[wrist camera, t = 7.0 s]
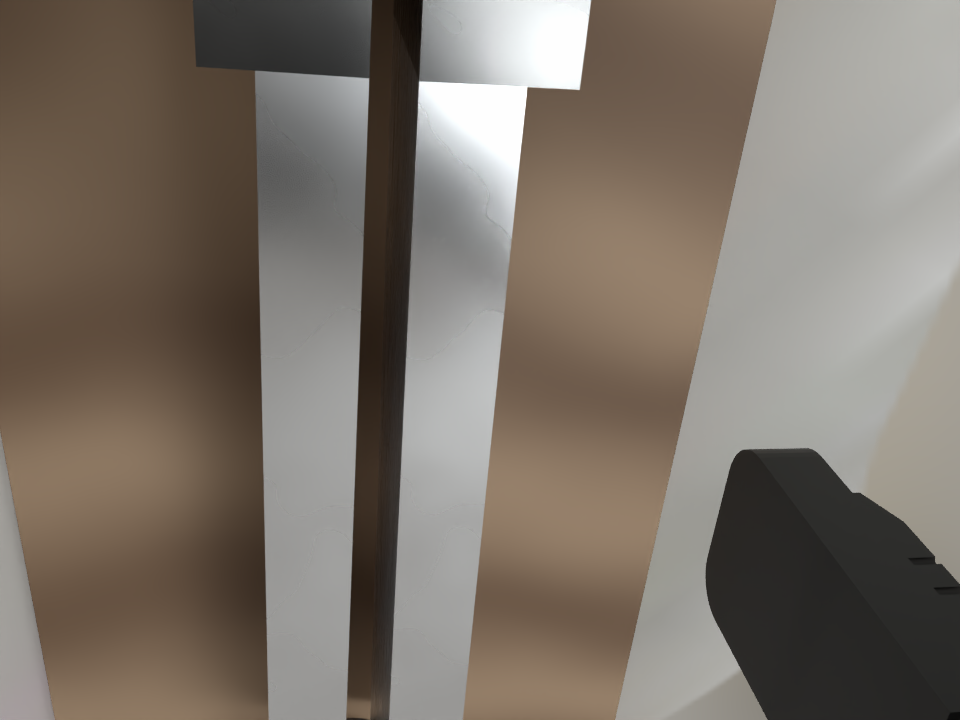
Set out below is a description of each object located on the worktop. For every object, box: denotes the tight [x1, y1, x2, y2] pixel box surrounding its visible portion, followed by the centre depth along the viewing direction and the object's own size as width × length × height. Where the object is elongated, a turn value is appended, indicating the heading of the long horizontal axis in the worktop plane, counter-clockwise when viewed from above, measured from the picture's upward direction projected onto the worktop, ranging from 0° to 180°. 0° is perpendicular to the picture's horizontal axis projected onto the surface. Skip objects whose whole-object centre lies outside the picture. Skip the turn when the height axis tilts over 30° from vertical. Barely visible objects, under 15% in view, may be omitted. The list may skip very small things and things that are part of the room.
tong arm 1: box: [370, 0, 591, 720], centre depth 15 cm, size 20×2×5 cm, turn 175°
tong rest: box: [0, 0, 776, 720], centre depth 16 cm, size 30×14×8 cm, turn 175°
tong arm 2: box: [193, 0, 372, 720], centre depth 15 cm, size 20×2×5 cm, turn 175°
